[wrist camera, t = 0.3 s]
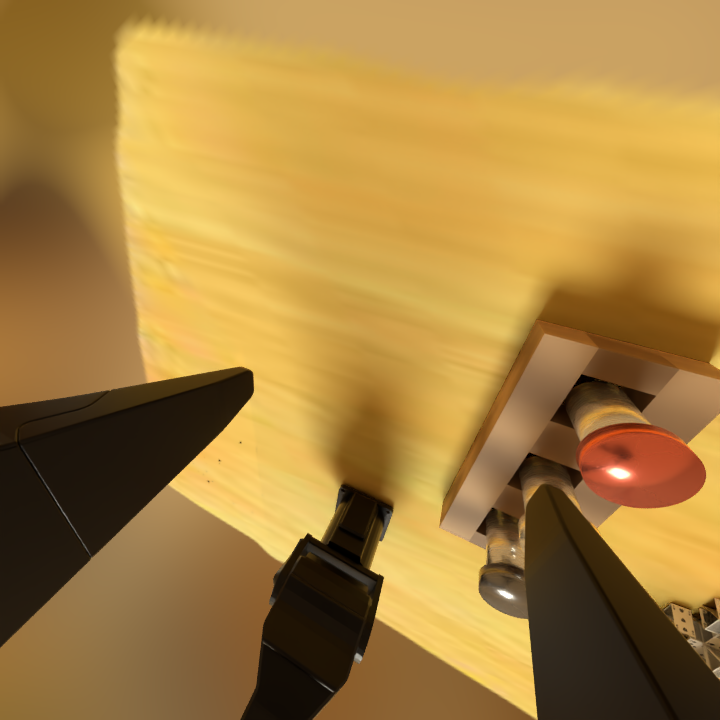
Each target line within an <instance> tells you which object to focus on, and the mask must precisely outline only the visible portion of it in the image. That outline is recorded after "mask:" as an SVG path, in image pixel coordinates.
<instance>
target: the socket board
mask: <svg viewBox="0 0 720 720" xmlns="http://www.w3.org/2000/svg"><path fill="white" fill-rule="evenodd" d="M581 374H583V375H586V376H590V377H593V378H597V379H600V380H604V381H607V382H611V383H614V384H617V385H621V386H623V387H622V388H621V389H622V390H623V391H624V392H625V394H626V395H627V396H628V397H629V398H630V400H631V401H632V402H633V403H634V404H635V406H636V407H637V408H638V409H639V411H640V412H641V413H642V414H643V415H644V417H645V418H646V419H647V420H648V421H649V423H650V424H651V425H654V426H658V427H661V428H663V429H666V430H668V431H670V432H672V433H674V434H675V435H677V436H678V437H679V438H680V439H682V440H683V441H684V443H685V444H688V443H689V442H690V441H691V440H692V439H693V438H694V437H695V436H696V435H697V434H698V433H699V432H700V431H701V430H702V429H704V428H705V427H706V426H707V425H708V424H709V423H710V422H711V421H712V420H713V419H714V418H715V417H716V416H717V415H719V414H720V370H719V369H718V368H716V367H714V366H713V365H711V364H710V363H706V362H702V361H698V360H695V359H691V358H687V357H683V356H679V355H675V354H671V353H667V352H663V351H659V350H655V349H651V348H647V347H643V346H639V345H636V344H632V343H628V342H624V341H620V340H616V339H612V338H608V337H604V336H600V335H596V334H592V333H588V332H584V331H581V330H577V329H573V328H569V327H565V326H561V325H557V324H553V323H549V322H545V321H541V320H536V322H535V324H534V326H533V328H532V330H531V332H530V333H529V335H528V337H527V339H526V341H525V343H524V345H523V347H522V349H521V351H520V353H519V355H518V357H517V359H516V361H515V363H514V365H513V367H512V369H511V371H510V373H509V374H508V376H507V378H506V380H505V382H504V384H503V386H502V388H501V390H500V392H499V394H498V396H497V398H496V400H495V402H494V404H493V406H492V408H491V410H490V412H489V414H488V415H487V417H486V419H485V421H484V423H483V425H482V427H481V429H480V431H479V433H478V435H477V437H476V439H475V441H474V443H473V445H472V447H471V449H470V451H469V453H468V455H467V457H466V458H465V460H464V462H463V464H462V466H461V468H460V470H459V472H458V474H457V476H456V478H455V480H454V482H453V484H452V486H451V488H450V490H449V492H448V494H447V496H446V498H445V499H444V501H443V505H442V512H441V519H440V526H439V528H441V529H443V530H446V531H448V532H450V533H452V534H454V535H456V536H458V537H460V538H463V539H465V540H467V541H469V542H471V543H473V544H475V545H477V546H479V547H482V548H484V549H486V515H487V514H488V512H490V509H491V508H492V507H493V508H495V509H497V510H499V511H502V512H504V513H506V514H509V515H511V516H513V517H516V518H518V519H520V518H521V517H522V516H523V515H524V514H525V508H524V501H523V494H522V488H521V481H520V474H519V466H520V465H521V463H522V462H523V460H524V459H525V457H526V456H527V454H528V453H529V452H530V453H533V454H536V455H538V456H541V457H544V458H546V459H549V460H552V461H554V462H557V463H560V464H563V465H564V466H565V467H566V468H567V471H568V474H569V476H570V479H571V482H572V485H573V488H574V491H575V494H576V497H577V500H578V503H579V506H580V509H581V512H582V514H583V516H584V517H585V518H586V519H587V520H589V521H590V522H591V523H592V524H594V525H595V527H596V528H598V527H599V526H600V525H601V524H602V523H603V522H604V521H605V520H606V519H607V518H608V517H609V516H610V515H612V514H613V513H614V512H615V511H616V510H617V509H618V508H619V507H620V506H621V505H619V504H616V503H613V502H610V501H608V500H605V499H604V498H602V497H600V496H598V495H597V494H595V493H594V492H593V491H592V490H591V489H590V488H589V487H588V486H587V485H586V483H585V482H584V480H583V477H582V475H581V472H580V470H579V467H578V464H577V462H576V449H577V447H578V445H579V443H580V440H579V438H578V436H577V433H576V431H575V429H574V427H573V424H572V422H571V420H570V417H569V415H568V413H567V411H566V408H565V405H562V402H563V401H564V399H565V398H566V396H567V395H568V393H569V392H570V390H571V389H572V387H573V386H574V384H575V383H576V381H577V380H578V378H579V377H580V375H581Z"/></svg>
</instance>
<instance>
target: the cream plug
mask: <svg viewBox="0 0 720 720" xmlns="http://www.w3.org/2000/svg"><path fill="white" fill-rule="evenodd" d="M519 474H520V481H521V488H522V494H523V501H524V508H525V510H526V505H527V503H528V501H529V499H530V498H531V497H532V495H533V494H534V493H535V491H536V490H537V488H538V487H539V486H540V485H541V484H543V483H546V484H549V485H552V486H554V487H557V488H559V489H561V490H562V491H563V492H564V493H565V494H566V495H567V496H568V497H569V499H570V500H571V501H572V502H573V503H574V505H575V506H576V507H577V508H578V509H579V511H580V512H581V509H580V506H579V503H578V500H577V497H576V494H575V491H574V488H573V485H572V482H571V479H570V476H569V474H568V471H567V468H566V467H565V466H564V465H563V464H560V463H557V462H554V461H552V460H549V459H546V458H544V457H541V456H534V457H530V458H527V459H525V460H524V461H523V462H522V463H521V465H520V466H519ZM581 513H582V512H581ZM588 522H589V523H590V524H591V525H592V526H593V528H594V529H595V530H596V531H597V532H598V534H599V535H600V532H599V531H598V529H597V528H596V527H595V525H594V524H592V523H591V522H590V521H589V520H588ZM518 530H519V539H520V546H521V548H522V550H523V552H525V514H524V515H523V516H522V517H521V518H520V520H519V522H518ZM600 536H601V535H600Z"/></svg>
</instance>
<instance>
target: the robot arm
mask: <svg viewBox="0 0 720 720" xmlns="http://www.w3.org/2000/svg"><path fill="white" fill-rule="evenodd" d="M253 392H254V379H253V372H252V371H251V370H249V369H247V368H244V367H235V368H230V369H224V370H219V371H213V372H208V373H202V374H196V375H191V376H185V377H180V378H174V379H169V380H163V381H157V382H152V383H146V384H141V385H136V386H130V387H124V388H119V389H113V390H111V391H101V392H96V393H90V394H85V395H78V396H73V397H67V398H60V399H54V400H46V401H39V402H32V403H25V404H17V405H10V406H3V407H0V647H1V646H3V644H5V643H6V642H7V640H9V639H10V638H11V637H12V636H13V635H14V634H15V633H16V632H17V631H18V630H19V629H20V628H21V627H22V626H23V625H24V624H25V623H26V622H27V621H28V620H29V619H30V618H31V617H32V616H33V615H34V614H35V613H36V612H37V611H38V610H39V609H40V608H42V607H43V606H44V605H45V604H46V603H47V602H48V601H49V600H50V599H51V598H52V597H53V596H54V595H55V594H56V593H57V592H58V591H59V590H60V589H61V588H62V587H63V586H64V585H65V584H66V583H67V582H68V581H69V580H70V579H71V578H72V577H73V576H74V575H75V574H76V573H77V572H78V571H79V570H80V569H81V568H82V567H83V566H84V565H86V564H87V563H88V561H90V559H91V557H93V556H95V555H96V554H97V553H98V552H99V551H100V550H101V549H102V548H103V547H104V546H105V545H106V544H107V543H108V542H109V541H110V540H111V539H112V538H113V537H114V536H115V535H116V534H117V533H118V532H119V531H120V530H121V529H122V528H123V527H124V526H125V525H126V524H127V523H128V522H129V521H130V520H131V519H133V517H135V516H136V515H137V514H138V513H139V512H140V511H141V510H142V509H143V508H144V507H145V506H146V505H147V504H148V503H149V502H150V501H151V500H152V499H153V498H154V497H155V496H156V495H157V494H158V493H159V492H160V491H161V490H162V489H163V488H164V487H165V486H166V485H168V484H169V483H170V482H171V481H172V480H173V479H174V478H175V477H176V476H177V475H178V474H179V473H180V472H181V471H182V470H183V469H184V468H185V467H186V466H187V465H188V464H189V463H190V462H191V461H192V460H193V459H194V458H195V457H196V456H197V455H198V454H199V453H200V452H201V451H202V450H203V449H205V448H206V447H207V446H208V445H209V444H210V443H211V442H212V441H213V440H214V439H215V438H216V437H217V436H218V435H219V434H220V433H221V432H222V431H223V430H224V429H225V427H226V426H227V425H228V424H229V423H230V422H231V420H232V419H233V418H234V417H235V416H236V415H237V413H238V412H239V411H240V410H241V409H242V407H243V406H244V405H245V404H246V403H247V402H248V400H249V399H250V398H251V397H252V395H253ZM392 513H393V508H392V507H390V506H388V505H386V504H384V503H382V502H380V501H377V500H375V499H373V498H371V497H369V496H367V495H365V494H363V493H361V492H358V491H356V490H354V489H352V488H350V487H348V486H346V485H341V487H340V489H339V494H338V499H337V505H336V510H335V514H334V516H333V518H332V520H331V522H330V524H329V526H328V528H327V530H326V532H325V534H324V536H323V538H322V540H321V541H319V540H317V539H315V538H314V537H312V535H310V534H309V533H307V535H306V536H305V538H304V539H300V540H299V542H298V544H297V546H296V547H295V549H294V551H293V552H292V554H291V555H290V557H289V558H288V559H287V560H286V562H285V563H284V564H283V565H282V567H281V568H280V569H279V570H278V571H277V573H276V574H275V576H274V578H273V583H274V588H273V591H272V595H271V598H270V601H269V604H270V605H271V606H272V608H271V610H270V612H269V614H268V616H267V618H266V620H265V622H264V625H263V634H262V642H261V650H260V659H259V667H258V676H257V685H256V689H255V690H254V693H253V695H252V697H251V699H250V701H249V703H248V705H247V707H246V709H245V711H244V713H243V715H242V718H241V720H313V719H314V718H315V717H316V716H317V715H318V714H319V713H320V712H321V710H322V709H323V708H324V707H325V706H326V705H327V704H328V703H329V702H330V701H331V699H332V698H333V697H334V696H335V695H336V694H337V692H338V691H339V690H340V689H341V688H342V686H343V685H344V684H345V682H346V681H347V679H348V676H349V673H350V670H351V667H352V664H353V661H355V662H356V663H358V664H359V663H360V661H361V660H362V657H363V655H364V652H365V649H366V646H367V643H368V640H369V637H370V633H371V630H372V626H373V623H374V619H375V614H376V610H377V606H378V601H379V597H380V592H381V588H382V584H383V579H384V577H383V576H381V575H380V574H379V575H378V574H376V573H374V572H372V571H371V570H370V567H371V564H372V561H373V558H374V555H375V552H376V549H377V546H378V543H379V541H382V540H383V538H384V535H385V532H386V530H387V527H388V524H389V521H390V519H391V516H392ZM524 574H525V587H526V598H527V609H528V620H529V630H530V641H531V652H532V663H533V674H534V684H535V695H536V706H537V717H538V720H720V680H719V679H718V677H717V676H716V675H715V674H714V673H713V671H712V670H711V669H710V668H709V666H708V665H707V664H706V663H705V662H704V660H703V659H702V658H701V657H700V656H699V654H698V653H697V652H696V651H695V650H694V648H693V647H692V646H691V645H690V644H689V642H688V641H687V640H686V639H685V637H684V636H683V635H682V634H681V633H680V631H679V630H678V629H677V628H676V627H675V625H674V624H673V623H672V622H671V621H670V619H669V618H668V617H667V616H666V615H665V613H664V612H663V611H662V610H661V609H660V607H659V606H658V605H657V604H656V602H655V601H654V600H653V599H652V598H651V596H650V595H649V594H648V593H647V592H646V590H645V589H644V588H643V587H642V586H641V584H640V583H639V582H638V581H637V580H636V578H635V577H634V576H633V575H632V573H631V572H630V571H629V570H628V569H627V567H626V566H625V565H624V564H623V563H622V561H621V560H620V559H619V558H618V557H617V555H616V554H615V553H614V552H613V551H612V549H611V548H610V547H609V546H608V544H607V543H606V542H605V541H604V540H603V538H602V537H601V536H600V535H599V534H598V532H597V531H596V530H595V529H594V528H593V526H592V525H591V524H590V523H589V522H588V520H587V519H586V518H585V517H584V516H583V514H582V513H581V512H580V511H579V509H578V508H577V507H576V506H575V505H574V503H573V502H572V501H571V500H570V499H569V497H568V496H567V495H566V494H565V493H564V492H563V491H562V490H561V489H559V488H557V487H554V486H552V485H549V484H546V483H543V484H541V485H540V486H539V487H538V488H537V490H536V491H535V493H534V494H533V495H532V497H531V498H530V499H529V501H528V503H527V505H526V510H525V552H524Z"/></svg>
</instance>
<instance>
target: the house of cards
mask: <svg viewBox="0 0 720 720" xmlns="http://www.w3.org/2000/svg"><path fill="white" fill-rule="evenodd" d="M714 599H715V604H716V608H717V610H714V609H711V608H709V607H706V606H704V607H705V608H706V609H707V610H709V611H710V612H709V611H707V610H704V609H701V608H699V611H700V616H701V619H698V618H696V617H693V616H692V613H691V610H689V609H686V608H683V607H681V606H678V605H675V604H673V603H671V604H670V603H669V604H670V605H669V606H668V607H666V608H665V609H664V610H663V612H664V613H665V615H666V616H667V617H668V618H669V619H670V621H671V622H672V623H673V624H674V625H675V627H676V628H677V629H678V630H679V631H680V633H681V634H682V635H683V636H684V637H685V639H686V640H687V641H688V642H689V644H690V645H691V646H692V647H693V648H694V650H695V651H696V652H697V653H698V654H699V656H700V657H701V658H702V659H703V660H704V662H705V663H706V664H707V665H708V666H709V668H710V669H711V670H712V671H713V673H714V674H715V675H716V676H717V677H718V678H720V600H719V599H717V598H714ZM693 619H694V620H695V621H694V620H693Z"/></svg>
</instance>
